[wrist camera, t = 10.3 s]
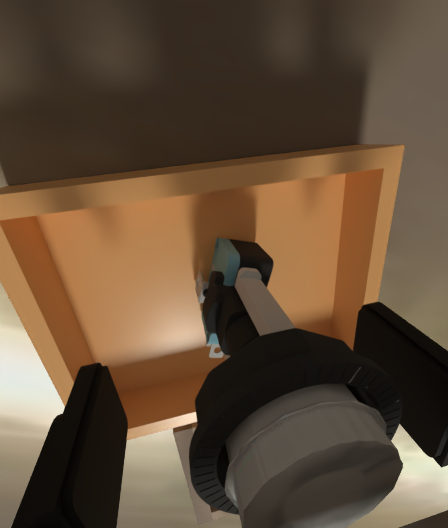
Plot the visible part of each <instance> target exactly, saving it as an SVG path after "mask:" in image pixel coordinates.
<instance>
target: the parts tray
mask: <svg viewBox="0 0 448 528" xmlns="http://www.w3.org/2000/svg"><path fill="white" fill-rule="evenodd" d="M404 147H405V145H368V144H356V145H347V146H339V147H331V148H322V149H314V150H306V151H297V152H289V153H280V154H272V155H264V156H255V157H247V158H239V159H230V160H222V161H213V162H205V163H197V164H188V165H180V166H172V167H163V168H155V169H146V170H138V171H130V172H121V173H113V174H105V175H96V176H88V177H79V178H71V179H63V180H54V181H46V182H38V183H29V184H21V185H12V186H6V187H2V188H0V281H1V283H2V285H3V287H4V289H5V291H6V293H7V295H8V297H9V299H10V301H11V302H12V304H13V306H14V308H15V310H16V312H17V314H18V316H19V318H20V320H21V322H22V324H23V326H24V328H25V330H26V332H27V334H28V336H29V337H30V339H31V341H32V343H33V345H34V347H35V349H36V351H37V353H38V355H39V357H40V359H41V361H42V363H43V365H44V367H45V369H46V371H47V372H48V374H49V376H50V378H51V380H52V382H53V384H54V386H55V388H56V390H57V392H58V394H59V396H60V398H61V400H62V402H63V404H64V406H66V404H67V401H68V398H69V395H70V393H71V390H72V387H73V384H74V382H75V379H76V376H77V373H78V371H79V369H80V367H81V366H85V365H89V364H94V363H101V364H102V366H108V369H109V371H110V374H111V377H112V379H113V382H114V384H115V387H116V390H117V392H118V395H119V398H120V400H121V403H122V406H123V408H124V411H125V414H126V416H127V420H128V432H127V440H130V439H134V438H137V437H141V436H145V435H149V434H153V433H156V432H160V431H164V430H168V429H172V428H175V427H179V426H183V425H187V424H190V423H194V422H197V416H196V409H195V399H196V396H197V394H198V392H199V390H200V389H201V387H202V385H203V383H204V381H205V379H206V377H207V375H208V373H209V372H210V371H211V370H212V369H214V368H215V367H217V366H218V365H219V364H221V363H222V362H224V361H225V356H224V355H223V357H222V358H210V357H209V352H210V348H211V346H207V345H206V343H207V342H206V335H205V330H204V326H203V322H202V316H201V315H202V307H203V303H199V302H198V298H197V294H196V290H195V286H196V280H197V275H198V271H199V270H201V274H202V277H203V281H204V282H208V279H209V274H210V270H211V265H212V260H213V256H214V251H215V243H216V239H217V237H218V238H225V239H233V240H240V241H247V242H254V243H258V244H259V245H260V246H261V248H262V249H263V250H264V251H265V252H266V253H267V254H268V255H269V256H270V257H271V258H272V259H273V262H274V265H273V270H272V273H271V276H270V280H269V283H268V286H267V289H268V290H269V292H270V293H271V294H272V296H273V297H274V299H275V300H276V301H277V303H278V304H279V305H280V307H281V308H282V310H283V311H284V312H285V314H286V315H287V316H288V318H289V319H290V321H291V322H292V323H293V325H294V326H295V327H296V328H299V329H303V330H306V331H310V332H314V333H317V334H321V335H325V336H328V337H332V338H336V339H339V340H342V341H344V342H345V343H346V344H347V345H348V346H349V347H350V349H351V350H352V351H353V346H354V339H355V332H356V324H357V317H358V312H359V310H360V309H361V307H362V306H363V305H365V304H369V303H374V302H377V301H378V295H379V289H380V284H381V278H382V272H383V267H384V261H385V255H386V249H387V244H388V238H389V232H390V227H391V221H392V215H393V210H394V204H395V198H396V192H397V187H398V181H399V175H400V170H401V164H402V158H403V153H404ZM198 286H199V285H198ZM220 351H221V349H220V347H217V348H215V349H214V352H220Z"/></svg>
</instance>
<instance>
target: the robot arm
mask: <svg viewBox="0 0 448 528" xmlns="http://www.w3.org/2000/svg"><path fill="white" fill-rule="evenodd" d="M353 352H354V353H355V354H358V355H361V356H364V357H366V358H368V359H370V360H372V361H373V362H375V363H376V364H377V365H378V366H380V367H381V368H382V369H383V370H384V371H385V372H386V373H387V374H388V375H389V376H390V377H391V379H392V380H393V381H394V382H395V383H396V385H397V387H398V389H399V390H400V394H401V397H402V415H401V419H400V425H401V426H402V427H403V428H404V429H405V430H406V432H407V433H408V434H409V435H410V436H411V438H412V439H413V440H414V441H415V442H416V443H417V445H418V446H419V447H420V448H421V449H422V450H423V452H424V453H425V454H426V455H428V456H429V457H431V458H432V457H433V458H434V459H435V461H436V462H437V463H438V464H439V465H440V466H441V467H444V466H447V465H448V351H447V350H446V349H444V348H443V347H441V346H440V345H439V344H437V343H436V342H435V341H433V340H432V339H430V338H429V337H428V336H426V335H425V334H424V333H422V332H421V331H419V330H418V329H417V328H415V327H414V326H413V325H411V324H410V323H408V322H407V321H406V320H404V319H403V318H402V317H400V316H399V315H397V314H396V313H395V312H393V311H392V310H391V309H389V308H388V307H386V306H385V305H384V304H382V303H380V302H374V303H369V304H365V305H363V306H362V307H361V309H360V310H359V312H358V317H357V324H356V332H355V339H354V346H353ZM127 432H128V420H127V416H126V414H125V411H124V408H123V406H122V403H121V400H120V398H119V395H118V392H117V390H116V387H115V384H114V382H113V379H112V377H111V374H110V371H109V369H108V366H102V364H101V363H94V364H89V365H85V366H81V367H80V369H79V371H78V373H77V376H76V379H75V382H74V384H73V387H72V390H71V393H70V395H69V398H68V401H67V404H66V406H65V409H64V412H63V414H60V415H58V416H57V417H56V418H55V419H54V420H53V422H52V424H51V427H50V430H49V432H48V435H47V437H46V440H45V442H44V445H43V447H42V450H41V453H40V455H39V458H38V460H37V463H36V465H35V468H34V470H33V473H32V476H31V478H30V481H29V483H28V486H27V488H26V491H25V494H24V496H23V499H22V501H21V504H20V506H19V509H18V511H17V514H16V517H15V519H14V522H13V524H12V527H11V528H116V526H117V518H118V509H119V501H120V492H121V483H122V475H123V466H124V458H125V449H126V441H127ZM400 528H448V510H447V511H444V512H442V513H439V514H436V515H433V516H430V517H428V518H425V519H422V520H419V521H416V522H414V523H411V524H408V525H405V526H402V527H400Z"/></svg>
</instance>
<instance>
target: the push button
mask: <svg viewBox="0 0 448 528" xmlns="http://www.w3.org/2000/svg"><path fill="white" fill-rule="evenodd" d="M273 265H274V262H273V259H272V258H271V257H270V256H269V255H268V254H267V253H266V252H265V251H264V250H263V249H262V248H261V246H260V245H259V244H258V243H254V242H247V241H240V240H233V239H225V238H218V237H217V239H216V243H215V251H214V256H213V260H212V265H211V270H210V274H209V279H208V282H204V281H203V277H202V274H201V270H199V271H198V275H197V280H196V286H195V290H196V294H197V298H198V302H199V303H203V307H202V315H201V316H202V322H203V326H204V330H205V335H206V342H207V343H206V345H207V346H211V348H210V352H209V357H210V358H222V357H223V355H224V356H225V361H224V362H222V363H221V364H219V365H218V366H217V367H215V368H214V369H212V370H211V371H210V372H209V373H208V375H207V377H206V379H205V381H204V383H203V385H202V387H201V389H200V390H199V392H198V394H197V396H196V399H195V409H196V416H197V424H198V425H197V427H196V429H195V431H194V434H193V436H192V439H191V443H190V447H189V465H190V476H191V482H192V485H193V488H194V490H195V491H196V493H197V494H198V496H199V497H200V498H201V499H202V500H203V501H204V502H205V503H207V504H208V505H210V506H211V507H213V508H216V509H218V510H220V511H223V512H227V513H232V514H238V515H240V520H241V525H242V528H346V527H348V526H349V525H351V524H352V523H354V522H355V521H357V520H358V519H360V518H362V517H363V516H365V515H367V514H368V513H370V512H371V511H372V510H373V509H374V508H375V507H376V506H377V505H378V504H379V503H380V502H381V501H382V500H383V499H384V498H385V497H386V496H387V495H388V494H389V493H390V492H391V491H392V490H393V489H394V486H395V484H396V482H397V480H398V477H399V475H400V473H401V470H402V468H403V463H402V461H401V460H400V456H399V453H398V450H397V448H396V447H395V446H394V444H393V443H392V442H391V440H392V438H393V436H394V434H395V433H396V430H397V428H398V426H399V423H400V419H401V415H402V397H401V394H400V390H399V389H398V387H397V385H396V383H395V382H394V381H393V380H392V379H391V377H390V376H389V375H388V374H387V373H386V372H385V371H384V370H383V369H382V368H381V367H380V366H378V365H377V364H376V363H375V362H373V361H372V360H370V359H368V358H366V357H364V356H361V355H358V354H355V353H354V352H353V351H352V350H351V349H350V347H349V346H348V345H347V344H346V343H345V342H344V341H342V340H339V339H336V338H332V337H328V336H325V335H321V334H317V333H314V332H310V331H306V330H303V329H299V328H296V327H295V326H294V325H293V323H292V322H291V321H290V319H289V318H288V316H287V315H286V314H285V312H284V311H283V310H282V308H281V307H280V305H279V304H278V303H277V301H276V300H275V299H274V297H273V296H272V294H271V293H270V292H269V290H268V289H267V286H268V283H269V280H270V276H271V273H272V270H273ZM198 285H199V286H198ZM217 347H220V349H221V351H220V352H214V349H215V348H217Z"/></svg>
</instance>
